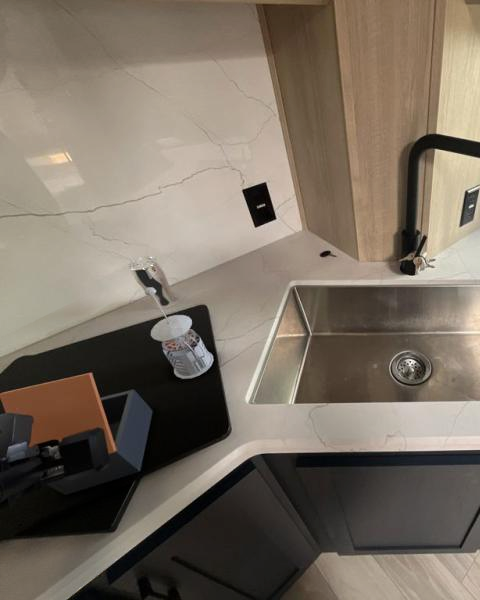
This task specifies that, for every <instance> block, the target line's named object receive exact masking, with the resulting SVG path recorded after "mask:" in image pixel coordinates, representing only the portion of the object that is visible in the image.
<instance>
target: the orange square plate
mask: <svg viewBox="0 0 480 600" xmlns="http://www.w3.org/2000/svg"><path fill="white" fill-rule="evenodd" d="M100 398H101V397H100V394H99V391H98V388H97V385H96V380H95V378H94V375H93V372H87V373H83V374H79V375H75V376H70V377H65V378H61V379H57V380H53V381H49V382H44V383H40V384H35V385H30V386H26V387H22V388H17V389H13V390H9V391H4V392H1V393H0V401H1V404H2V406H3V409H4V412H5V413H17V414H25V415H31V416H33V418H34V423H33V424H32V432H31V441H30V444H29V447H31V446H34V445H35V444H38V443H42V442H46V441H49V440H53V439H57V440H59V441H60V442H61V441H62V439H63V438H64V437H67V436H69V435H72V434H75V433H78V432H82V431H86V430H89V429H93V428H97V427H100V428H102V429H104V433H105V438H106V443H107V448H108V453H113V452H115V451H116V447H115V443H114V440H113V437H112V434H111V431H110V428H109V425H108V422H107V418H106V415H105V412H104V409H103V406H102V403H101V400H100Z"/></svg>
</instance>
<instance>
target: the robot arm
mask: <svg viewBox="0 0 480 600" xmlns="http://www.w3.org/2000/svg"><path fill="white" fill-rule="evenodd" d="M33 423H34V418H33V416H31V415H25V414H17V413H6V412H5V413H1V414H0V512H1V511H3V510H8V509H10V508H11V507H13V506H16V505H17V498H22V497H24V496H28V495H31V494H34V493H37V492H39V491H40V490H43V486H46V485H47V484H49V483H52V482H55V481H59V480H62V479H63V478H65V477H66V478H67V479H69V480H71V481H72V480H75V479H79V478H82V477H85V476H89V475H92V474H95V473H99V472H100V471H102V470H103V469H105V468H106V467H107V466H108V465H109V463H110V458H109V453H108V448H107V443H106V438H105V433H104V429H102V428H100V427H97V428H93V429H89V430H86V431H82V432H78V433H75V434H72V435H69V436H67V437H64V438H63V439H62V441H61V442H60V441H59V440H57V439H53V440H49V441H46V442H42V443H38V444H35V445H34V446H31V447H29V444H30V441H31V432H32V424H33ZM40 480H41V481H40Z"/></svg>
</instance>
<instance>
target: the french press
mask: <svg viewBox="0 0 480 600" xmlns="http://www.w3.org/2000/svg"><path fill="white" fill-rule="evenodd" d="M155 293H156V290H155V289H154V288H153V287H148V288H147V289H146V290H145V291H144V294H145V295H146V296H149V295H152V297H153V298H154V300H155V301H156V303H157V305H158V306H159V308H160V309H159V310H160V312H161V313H162V315H163V316H164V319H161V320H159V321H158V322H157V323H156V324H155V325H154V326H153V327H152V329H151V330H150V336H151V338H152V339H153V340H155V341H157V342H161V348H162V352H163V354H164V355H165V356H166V358H167V360H168V361H169V363H170V364H171V365H172V367H173V373H174V375H175V376H176V377H177V378H180V379H182V380H185V379H193V378H196V377H198V376H201V375H202V374H204V373H206V372H207V371H208V370H209V369H210V368H211V367H212V365H213V362H214V355H213V354H212V352H209V351H208V349H207V348H206V346H205V344H204V342H203V340H202V338H201V337H200V335H199V334H198V333H197V332H196V331H195V330H194V329H191V327H192V325H193V321H192V320H193V319H192V318H190V316H188V315H184V314H174V315H170V316H166V314H165V312H164V309H161V307H160V305H159V304H158V302H157V300H156V299H155V297H154V295H153V294H155Z"/></svg>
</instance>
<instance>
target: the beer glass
mask: <svg viewBox="0 0 480 600" xmlns="http://www.w3.org/2000/svg"><path fill="white" fill-rule="evenodd" d="M127 267H128V269H129V271H130V273H131V274H132V276H133V279H134V280H135V282H136V283H137V284H138V286H139V287H140V288H141V289H142V290H143V291H144V292H145V290H146V289H147V288H148V287H153V288H154V289H155V290H156V293H155V294H153V295H154V297H155V299H156V300H157V302H158V304H159V305H160V307H161V309H162V310H166V309H168V308H171V307H172V306H173V307H174V305H175V304H176V303H177V301H178V298H177V297H176V296H175V294H174V293H173V292H172V291H171V288H170V284H169V280H168V278H167V275H166V273H165V271H164V269H163V267H162V266H161V264H160V263H159V261H158V260H157V258H156V257H154V256H143V257H142V256H141V257H139V258H136V259H134V260H132V261H131V262H129V264H128V266H127ZM148 297H149V298H150V299H151V301H152V305H153V308H154V309H157V310H160V308H159V306H158V305H157V303H156V301H155V300H154V298H153V297H152V295H148Z"/></svg>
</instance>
